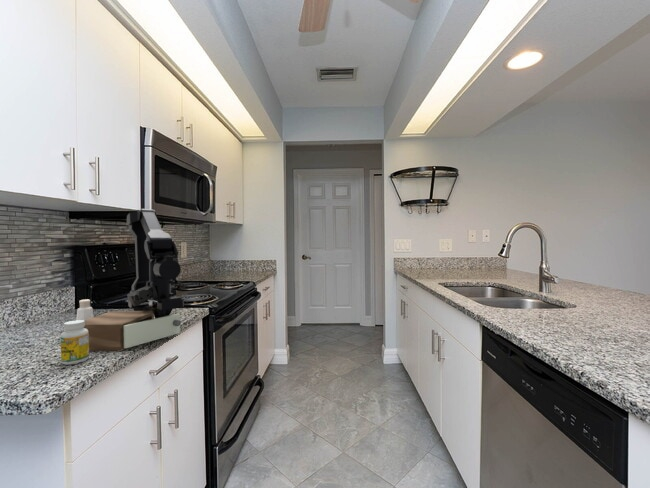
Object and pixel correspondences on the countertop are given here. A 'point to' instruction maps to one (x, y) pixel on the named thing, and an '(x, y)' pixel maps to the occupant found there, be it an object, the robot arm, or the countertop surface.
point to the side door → (151, 330)
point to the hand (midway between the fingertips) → (160, 328)
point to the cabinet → (112, 328)
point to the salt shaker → (84, 310)
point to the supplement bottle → (74, 343)
